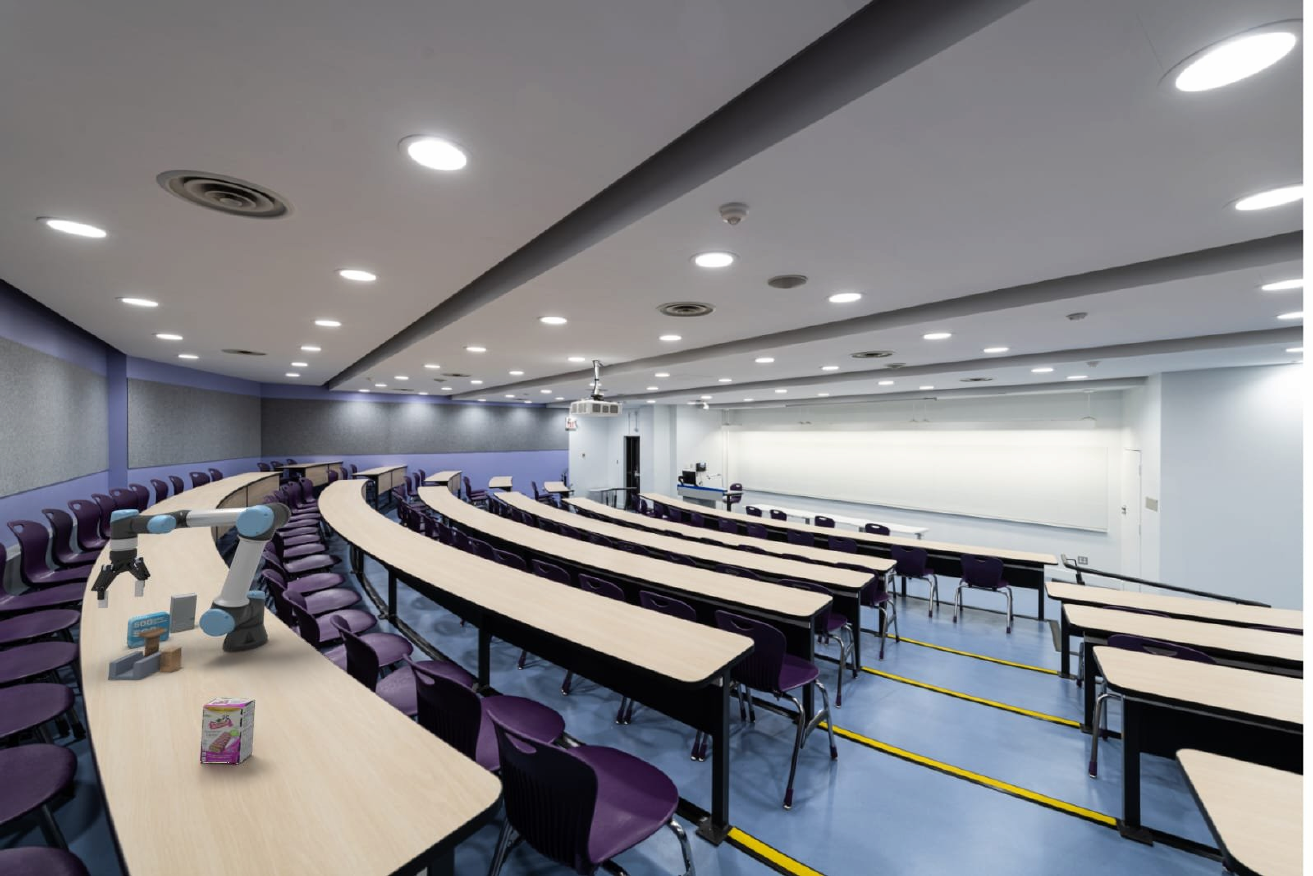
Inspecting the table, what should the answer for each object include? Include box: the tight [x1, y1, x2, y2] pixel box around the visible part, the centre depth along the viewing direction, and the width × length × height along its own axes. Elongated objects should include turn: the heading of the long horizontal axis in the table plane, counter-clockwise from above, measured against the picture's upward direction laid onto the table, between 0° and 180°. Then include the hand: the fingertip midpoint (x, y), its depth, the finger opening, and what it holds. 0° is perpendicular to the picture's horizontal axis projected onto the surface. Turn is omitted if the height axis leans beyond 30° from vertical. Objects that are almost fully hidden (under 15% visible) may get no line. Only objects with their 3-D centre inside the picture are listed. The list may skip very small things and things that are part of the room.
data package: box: [126, 611, 170, 649], centre depth 209 cm, size 12×4×12 cm, turn 150°
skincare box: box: [168, 592, 198, 634], centre depth 225 cm, size 8×7×16 cm
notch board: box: [107, 650, 162, 681], centre depth 183 cm, size 11×10×6 cm
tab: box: [159, 646, 183, 673], centre depth 187 cm, size 4×4×8 cm
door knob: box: [138, 628, 167, 659], centre depth 195 cm, size 9×9×11 cm
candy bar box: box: [199, 697, 256, 765], centre depth 138 cm, size 11×5×16 cm, turn 92°
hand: (121, 602), depth 192 cm, fingers open, 13 cm apart
